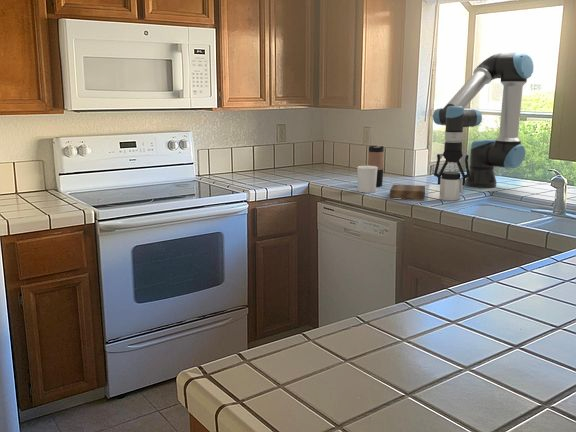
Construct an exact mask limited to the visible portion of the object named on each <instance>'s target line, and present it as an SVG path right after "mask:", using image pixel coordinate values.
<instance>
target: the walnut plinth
mask: <svg viewBox="0 0 576 432" xmlns="http://www.w3.org/2000/svg"><path fill="white" fill-rule="evenodd" d="M425 195H426V185H418V184H417V185H415V184H414V185H413V184H411V185H410V184H392V186H391V187H390V190H389V199H390V198H401V199H400V200H406V199H417V200H416V201H424V199H425ZM418 199H419V200H418Z"/></svg>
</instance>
